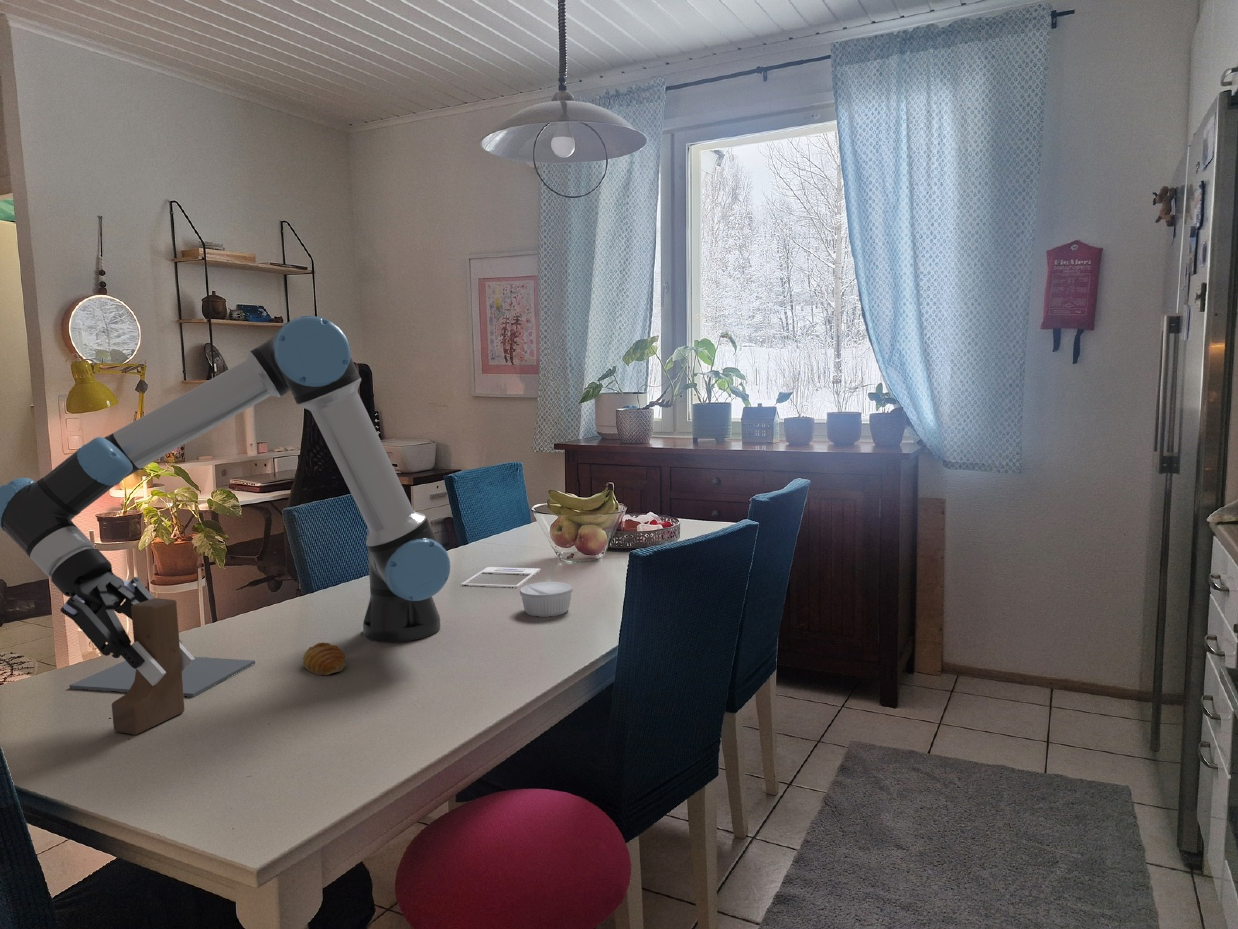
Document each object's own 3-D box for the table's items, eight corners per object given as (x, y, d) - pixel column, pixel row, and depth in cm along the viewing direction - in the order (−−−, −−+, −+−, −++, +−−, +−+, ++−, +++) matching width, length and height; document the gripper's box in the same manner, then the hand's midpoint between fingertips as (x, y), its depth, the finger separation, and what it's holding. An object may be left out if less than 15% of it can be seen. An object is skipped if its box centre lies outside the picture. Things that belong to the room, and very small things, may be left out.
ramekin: (511, 616, 180) (510, 592, 179) (535, 602, 190) (535, 579, 189) (558, 621, 175) (557, 596, 175) (581, 607, 186) (580, 583, 185)
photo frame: (540, 567, 220) (517, 585, 203) (540, 572, 220) (517, 589, 203) (487, 566, 223) (460, 583, 206) (487, 570, 223) (461, 587, 206)
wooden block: (135, 736, 122) (125, 616, 120) (112, 732, 124) (102, 613, 122) (185, 712, 131) (177, 599, 129) (163, 708, 132) (155, 597, 130)
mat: (255, 663, 153) (255, 660, 153) (193, 697, 137) (193, 693, 137) (141, 657, 158) (141, 653, 158) (69, 688, 142) (69, 685, 142)
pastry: (354, 672, 148) (353, 651, 148) (316, 681, 144) (314, 659, 144) (337, 658, 156) (335, 638, 155) (299, 666, 152) (298, 646, 151)
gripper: (107, 565, 139) (202, 666, 138) (6, 595, 121) (113, 711, 120) (132, 534, 138) (228, 636, 136) (33, 560, 120) (142, 678, 118)
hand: (174, 671), depth 128 cm, fingers closed on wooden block, 5 cm apart
